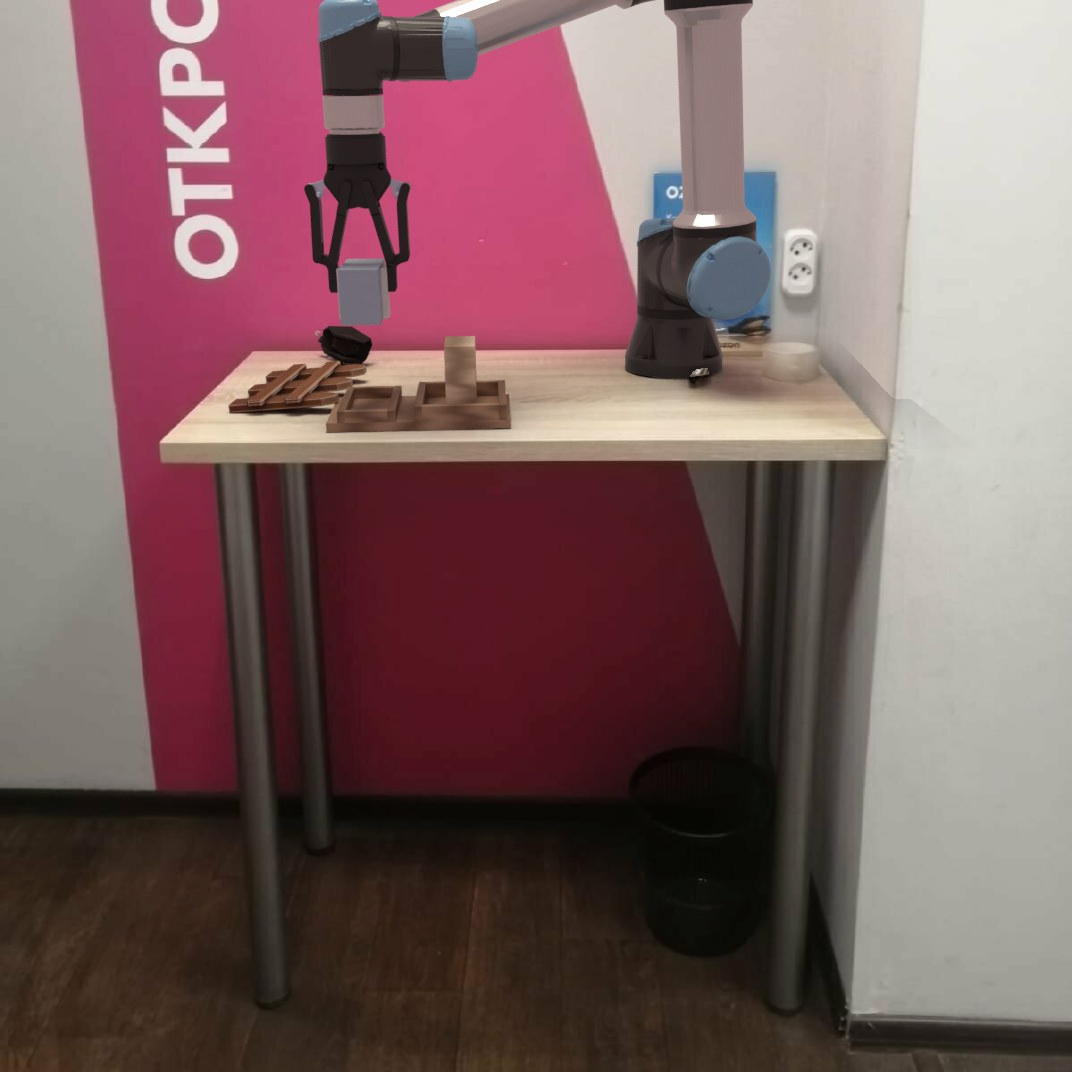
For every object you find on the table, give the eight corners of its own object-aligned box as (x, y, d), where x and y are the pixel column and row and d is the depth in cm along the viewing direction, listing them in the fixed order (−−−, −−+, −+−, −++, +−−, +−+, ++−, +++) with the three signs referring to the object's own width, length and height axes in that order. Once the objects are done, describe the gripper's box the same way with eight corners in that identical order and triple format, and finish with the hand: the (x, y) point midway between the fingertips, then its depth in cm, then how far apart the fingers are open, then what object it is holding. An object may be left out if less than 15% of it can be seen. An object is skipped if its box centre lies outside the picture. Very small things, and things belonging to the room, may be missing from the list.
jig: (509, 402, 179) (508, 380, 178) (510, 428, 166) (510, 404, 165) (338, 405, 178) (336, 383, 177) (326, 432, 165) (324, 408, 164)
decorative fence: (226, 415, 174) (333, 407, 172) (224, 402, 173) (331, 394, 172) (275, 377, 196) (369, 369, 194) (273, 365, 195) (368, 358, 193)
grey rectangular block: (387, 310, 172) (384, 258, 169) (380, 325, 162) (377, 269, 160) (350, 311, 172) (347, 258, 169) (341, 325, 162) (337, 270, 160)
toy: (370, 340, 214) (380, 333, 199) (360, 377, 214) (369, 372, 199) (316, 324, 211) (322, 315, 197) (306, 362, 211) (312, 355, 197)
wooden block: (477, 400, 175) (475, 335, 172) (476, 413, 168) (474, 346, 165) (448, 401, 175) (445, 336, 172) (446, 414, 168) (443, 346, 165)
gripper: (428, 129, 163) (434, 311, 171) (287, 131, 162) (300, 313, 170) (425, 132, 156) (432, 321, 164) (277, 133, 155) (292, 323, 163)
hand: (365, 316), depth 167 cm, fingers closed on grey rectangular block, 5 cm apart
